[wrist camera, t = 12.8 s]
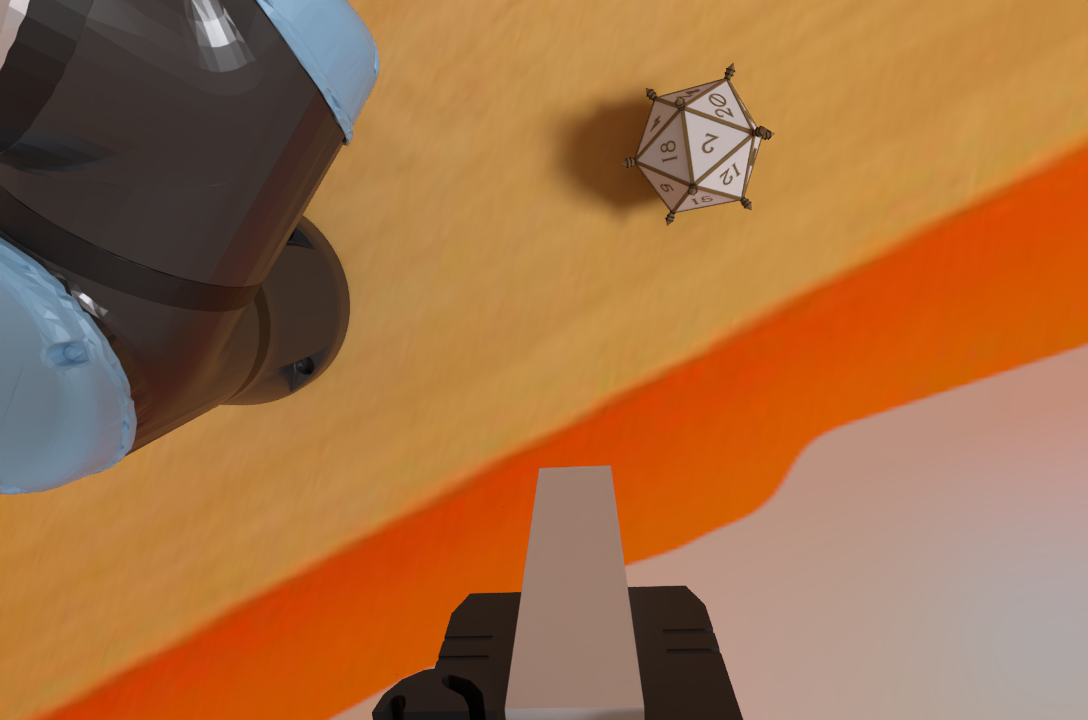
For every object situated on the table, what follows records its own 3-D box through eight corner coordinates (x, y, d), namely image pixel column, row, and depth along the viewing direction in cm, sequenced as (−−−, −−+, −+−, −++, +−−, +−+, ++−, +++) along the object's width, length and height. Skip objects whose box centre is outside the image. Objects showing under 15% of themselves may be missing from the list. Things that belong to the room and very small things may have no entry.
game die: (653, 147, 46) (605, 53, 37) (776, 117, 42) (754, 5, 33) (655, 259, 43) (603, 186, 34) (785, 238, 39) (764, 150, 31)
